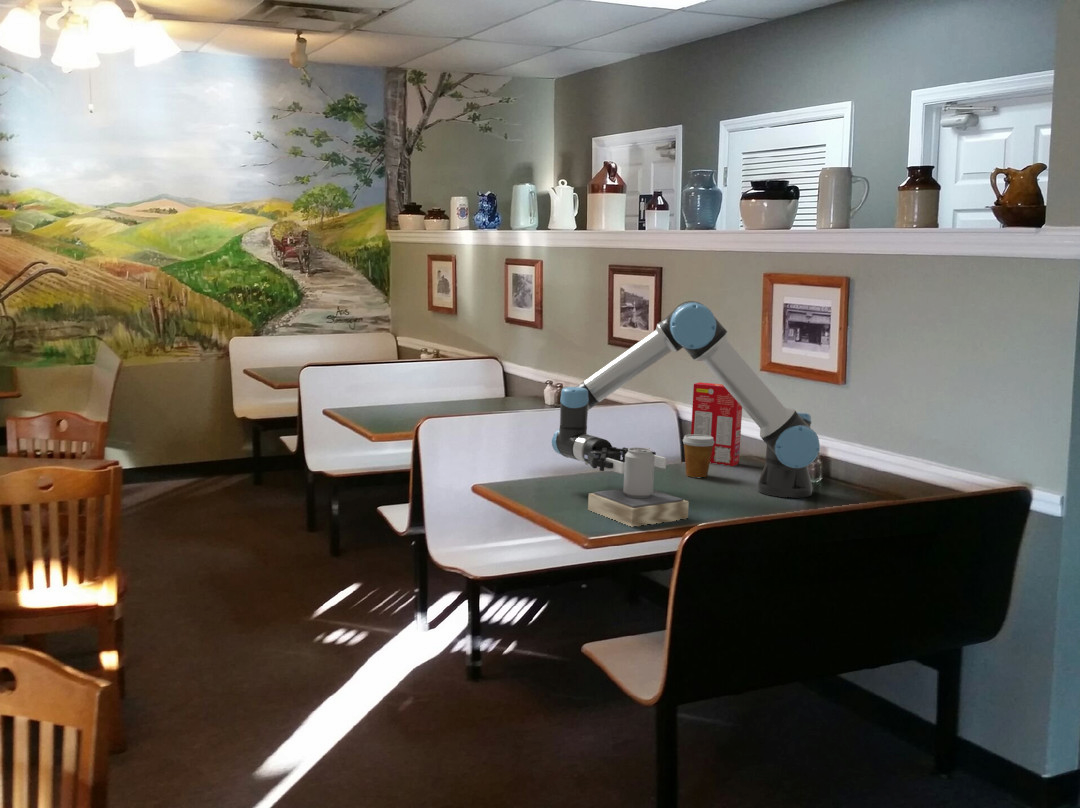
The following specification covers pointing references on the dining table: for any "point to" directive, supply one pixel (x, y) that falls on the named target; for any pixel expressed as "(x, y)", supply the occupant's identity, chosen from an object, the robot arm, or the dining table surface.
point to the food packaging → (717, 421)
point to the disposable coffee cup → (697, 454)
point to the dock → (638, 507)
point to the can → (639, 472)
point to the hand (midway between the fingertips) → (644, 465)
